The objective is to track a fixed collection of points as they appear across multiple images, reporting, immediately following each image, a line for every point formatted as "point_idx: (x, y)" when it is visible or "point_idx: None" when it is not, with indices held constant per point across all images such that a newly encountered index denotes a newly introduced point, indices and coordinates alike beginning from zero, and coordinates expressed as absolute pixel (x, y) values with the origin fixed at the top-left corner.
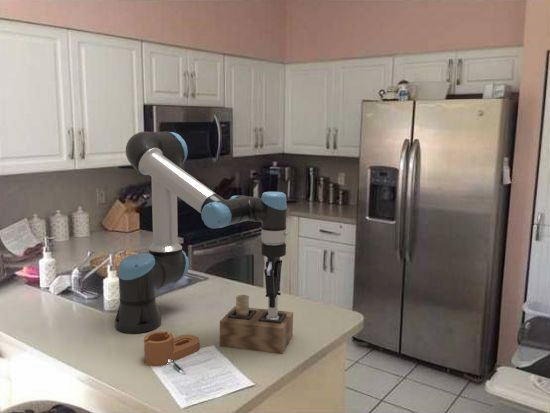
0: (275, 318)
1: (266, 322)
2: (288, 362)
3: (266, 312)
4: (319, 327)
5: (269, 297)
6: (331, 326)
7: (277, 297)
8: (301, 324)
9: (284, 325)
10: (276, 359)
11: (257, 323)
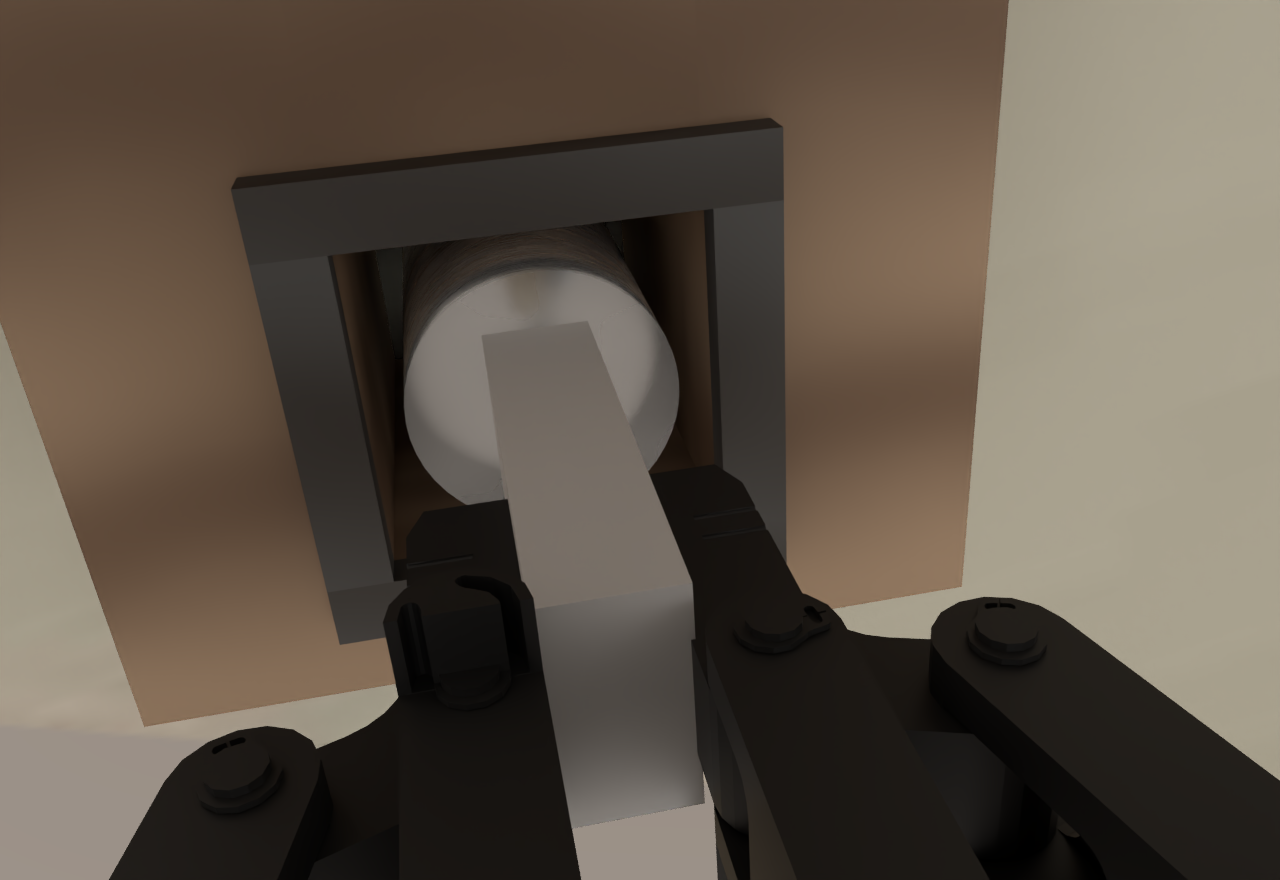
0: (471, 487)
1: (261, 365)
2: (25, 628)
3: (724, 193)
4: (1135, 584)
5: (392, 710)
6: (1181, 678)
7: (642, 787)
8: (1201, 371)
9: (292, 697)
10: (11, 479)
11: (96, 211)
